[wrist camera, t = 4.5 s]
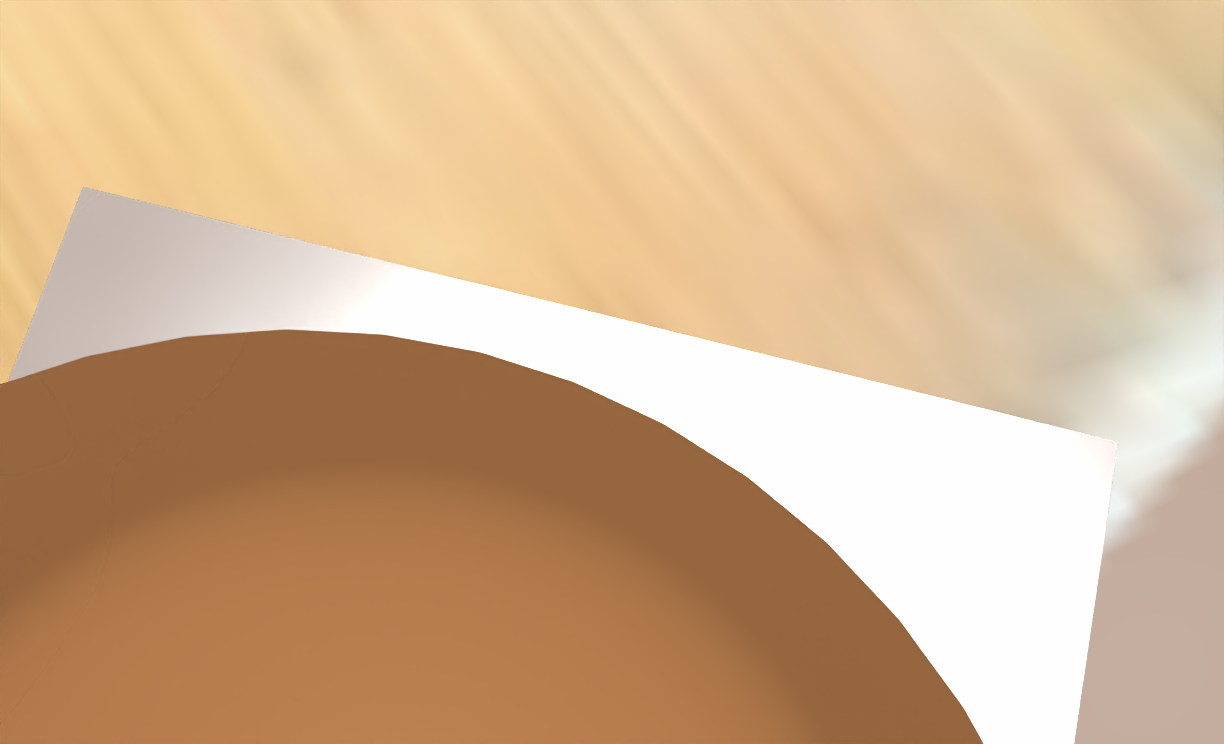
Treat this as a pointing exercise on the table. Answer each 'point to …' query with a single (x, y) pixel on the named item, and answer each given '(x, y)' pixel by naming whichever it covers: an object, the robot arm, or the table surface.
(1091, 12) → the table surface
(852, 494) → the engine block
